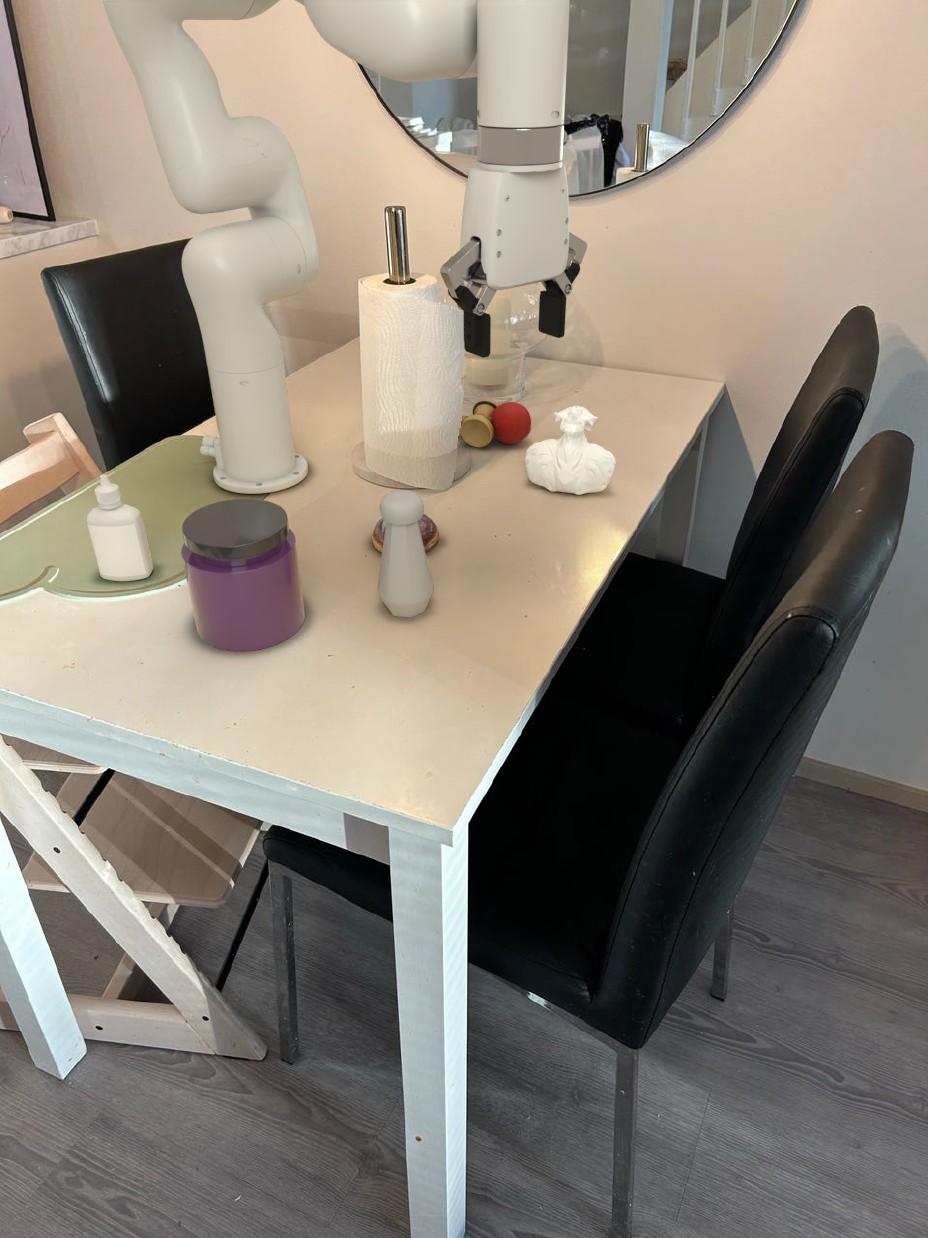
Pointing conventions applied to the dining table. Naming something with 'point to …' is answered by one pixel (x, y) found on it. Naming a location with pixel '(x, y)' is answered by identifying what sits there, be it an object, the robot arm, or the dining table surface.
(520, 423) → the kendama
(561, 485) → the bust
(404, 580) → the salt shaker
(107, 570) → the eye dropper bottle
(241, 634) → the jar
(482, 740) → the dining table surface
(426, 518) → the pastry
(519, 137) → the robot arm
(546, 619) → the dining table surface
